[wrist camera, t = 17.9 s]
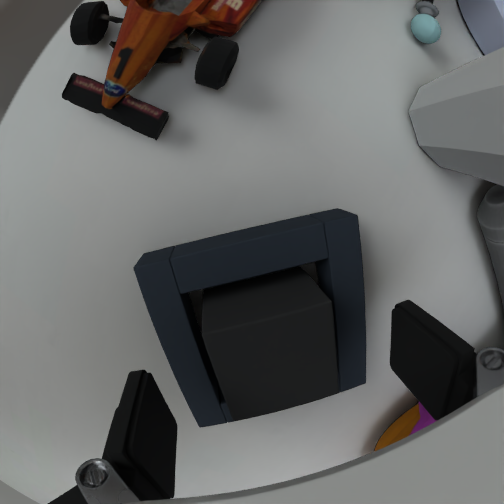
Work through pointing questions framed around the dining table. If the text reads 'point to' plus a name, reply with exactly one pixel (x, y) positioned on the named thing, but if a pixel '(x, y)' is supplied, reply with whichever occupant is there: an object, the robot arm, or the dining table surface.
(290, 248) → the dark blue square frame
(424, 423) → the donut
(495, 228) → the flashlight
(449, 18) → the dining table surface
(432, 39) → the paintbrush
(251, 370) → the block
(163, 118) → the toy car
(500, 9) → the wedge on round base
